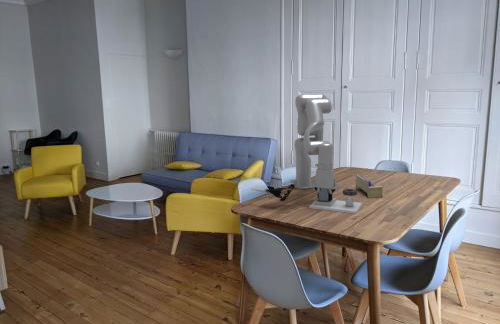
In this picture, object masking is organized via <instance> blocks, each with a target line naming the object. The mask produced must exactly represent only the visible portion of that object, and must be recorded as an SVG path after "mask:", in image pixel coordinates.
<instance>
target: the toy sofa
mask: <svg viewBox="0 0 500 324" xmlns="http://www.w3.org/2000/svg"><path fill="white" fill-rule="evenodd" d="M355 176H356V177H355V190H357V191H359V190H362V191H363V192H365V193H366V194H367V199H370V198H371V199H372V198H374V199H375V198H383V189H384V187H383V185H375V184H373V183H372V182H371V180H370V178H369V177H368V178H365V177H363V176H361V174H360V173H356V175H355Z"/></svg>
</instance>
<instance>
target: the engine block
mask: <svg viewBox="0 0 500 324" xmlns="http://www.w3.org/2000/svg"><path fill="white" fill-rule="evenodd" d="M329 193H330V192H329V189H325V188H321V190H319V202H328V203H329V202H330V201H329Z"/></svg>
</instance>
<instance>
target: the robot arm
mask: <svg viewBox="0 0 500 324" xmlns="http://www.w3.org/2000/svg"><path fill="white" fill-rule="evenodd" d="M294 100H295V101H294V103H295V109H296V111H297V127H296V128H297V129H296V130H297V134H298V135H299V136H301V137H299V138H297V139H295V141H294V151H295V179H290V180H289V182H290V183H291V184H294V185H295V187H294V188H296V189H301V190H309V189H314V190H315V191H316V193H317V199H318V200H319V190H321V189H322V188H325V189H329V192H330V193H329V201H331V199H332V198H333V194H334V193H335V192H336V191H337V190H339V188H340V187H339V185H338V183H337V182H336V175H335V170H334V168H333V165H334V163H333V162H334V161H333V160H334V158H333V157H334V145H333V143H331V141H329V140H324V126H325V119H324V114H330V113H331V112H332V110H333V106H332V101H331V100H330V98H329V97H327V96H326V95H325V94H323V93H305V94H304V93H303V94H298V95H297V96H296V97H295V99H294ZM310 136H311V137H310ZM312 136H313V137H312ZM310 156H317V163H315V167H317V168H316V170H315V176H314V182H313V183H312V158H311V157H310Z"/></svg>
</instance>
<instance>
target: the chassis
mask: <svg viewBox="0 0 500 324" xmlns="http://www.w3.org/2000/svg"><path fill="white" fill-rule="evenodd" d="M362 206H363V202H359V201H358V202H356V201H355V200H354V199H352V196H348V197H347V199H345V200H339V199H337V198H335V197H332V199H331V201H330V202H329V203H328V202H319V200H318V198H315V200H314V201H313V203H311V204H310V205H309V206H308V207H309V209H313V210H322V211H329V212H339V213H346V214H347V213H348V214H357V213H358V212H359V211H360V209H361V208H362Z"/></svg>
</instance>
